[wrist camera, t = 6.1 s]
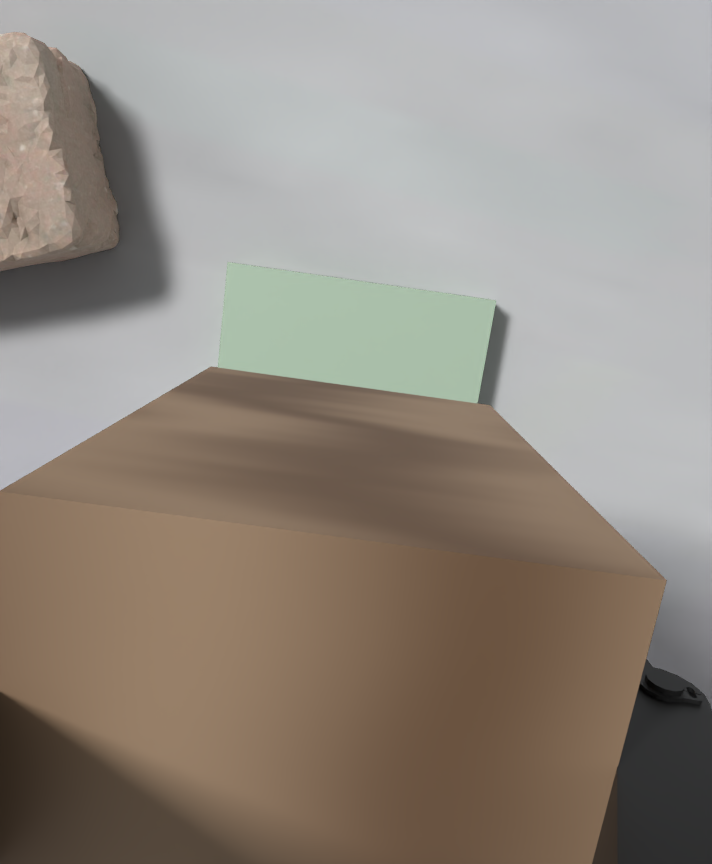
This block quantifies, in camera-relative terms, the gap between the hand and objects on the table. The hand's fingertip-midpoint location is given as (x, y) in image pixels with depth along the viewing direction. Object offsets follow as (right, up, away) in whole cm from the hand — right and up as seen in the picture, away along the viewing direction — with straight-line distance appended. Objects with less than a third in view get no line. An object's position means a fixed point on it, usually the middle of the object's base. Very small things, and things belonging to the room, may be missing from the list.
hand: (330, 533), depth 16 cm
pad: (0, +4, +16) cm, 16 cm away
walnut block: (0, 0, +1) cm, 1 cm away
